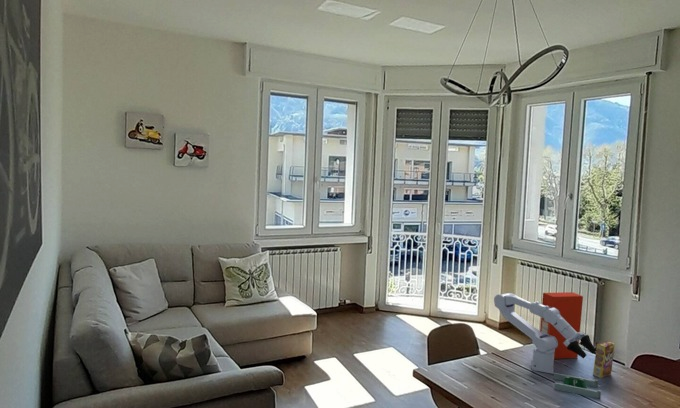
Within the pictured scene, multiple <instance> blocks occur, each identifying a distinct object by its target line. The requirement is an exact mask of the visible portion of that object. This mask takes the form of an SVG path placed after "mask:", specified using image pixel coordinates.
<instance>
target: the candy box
mask: <svg viewBox="0 0 680 408" xmlns="http://www.w3.org/2000/svg"><path fill="white" fill-rule="evenodd" d="M615 346H616V344H615V343H614V342H611V341H607V340H606V341H603V342H599V343H596V348H595V350H596V351H595V356H594V357H595V358H594V362H593V363H594V364H593V370H592V371H593V372H592V375H593V376H595V377H596V378H599V379H603V378H605V377H608V376H610V375H612V368H613V363H614V353H615Z"/></svg>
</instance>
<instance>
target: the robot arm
mask: <svg viewBox="0 0 680 408" xmlns="http://www.w3.org/2000/svg"><path fill="white" fill-rule="evenodd" d="M493 302H494V307H496V308H497V309H498V310H499V312H500V314H501V315H502V317H503V318H504V319H505V320H507V321H508V322H509V323H511V324H512V325H513V326H514V327H515V328H517V329H518V330H520V331H521V332H522V333H523V334H524V335H526V336H527V337H529V338H530V339H531V341H532V344H533V345H534V347H535V348H533V350H532V351H533V352H532V353H533V354H532V360H531V370H533V371H537V372H540V373H541V372H543V373H545V374H546V373H547V374H551V375H554V372H555V371H554V369H555V368H554V361H555V359H554V352H555V348H557V346H558V341H557V339H556V338H555V337H554V336H551V335H548V334H547V333H544V332H541V331H540V329H538V328H537V327H535V326H534V325H533V324H531V323H530V322H528V321H527V320H526V319H524V318H523V317H522V316H520V314H518V313H517V312H516V311H515V305H516V306H519V307H522V308H525V309H527V310H529V312H530V313H531V314H533V315H535V316H538V317H540V318H541V317H542V318H544V320H545V321H546V322H549V323H551V324H552V325H553V326H554V327H555V328H556V329H557V330H558V331H559V332H560V333H561V334H562V335H563V336H564V338H565V339H566V341H565V342H564V345H565V346H568V347H567V349H568V350H570V351H572V352H574V353H576V354H578V356H580V358H582V359H585V358H586V357H587V353H586V352H585V351H584V350H583V348H585V349H586V350H587V351H589V352H590V353H591V354H594V353H596V348H595V347H594V345H593V343H592V340H591V339H590V336H589V335H588V334H586V333H584V332H581V331H580V332H578V333H577V332H576V331H575V330H574V329H573V328H572V327H571V325H570V324H569V323H568V322H567V321H566V320H565V319H564V318H563V317H562V316H561V315H560V312H559V310H558V309H556V308H555V307H552V308H549V306H545V305H542V303H540V301H533V302H530V301H529V300H526V299H524V298H522V297H520V296H518V295H516V294H515V293H512V292H505V293H502V294H501V293H500V294H496V295H495V296H494V299H493ZM577 341H579V344H578V342H577ZM581 346H582V347H583V348H582V347H581Z"/></svg>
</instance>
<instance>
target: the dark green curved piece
mask: <svg viewBox="0 0 680 408" xmlns="http://www.w3.org/2000/svg"><path fill="white" fill-rule="evenodd" d="M580 378H581V379H580V380H579V379H574V378H569V376H567V377H566V378H565V379H564V381H563V384H566V385H571V386H576V387H581V388H586V389H588V387H587V385H586V384H585V382H584V380H583V379H582V378H583V377H580Z"/></svg>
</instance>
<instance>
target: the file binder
mask: <svg viewBox="0 0 680 408" xmlns="http://www.w3.org/2000/svg"><path fill="white" fill-rule="evenodd" d="M541 300H542V301H541V304H542V305H545V306H549V308H552V307H555V308H556V309H558V310H559V312H560V315H561V316H562V317H563V318H564V319H565V320H566V321H567V322H568V323H569V324H570V325H571V327H572V328H573V329H574V330H575V331H576V332H577V333H578V332H580V333H581V322H582V313H583V312H582V311H583V301H584V296H583V295H581V294H579V293H575V292H543V293H542V299H541ZM539 325H540V326H539V331H541V332H544V333H547V334H548V335H551V336H554V337H555V338H556V339H557V341H558V346H557V348H555V352H554V360H556V359H557V360H558V359H577V358H578V356H579V355H578V354H576V353H574V352H572V351H570V350H568V349H567V347H568V346H565V345H564V342H565V341H566V339H565V338H564V336H563V335H562V334H561V333H560V332H559V331H558V330H557V329H556V328H555V327H554V326H553V325H552V324H551V323H549V322H546V321H545V320H544V318H542V317H540V324H539ZM577 342H578V344H579V343H580V340H579V341H577ZM579 345H580V344H579Z"/></svg>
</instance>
